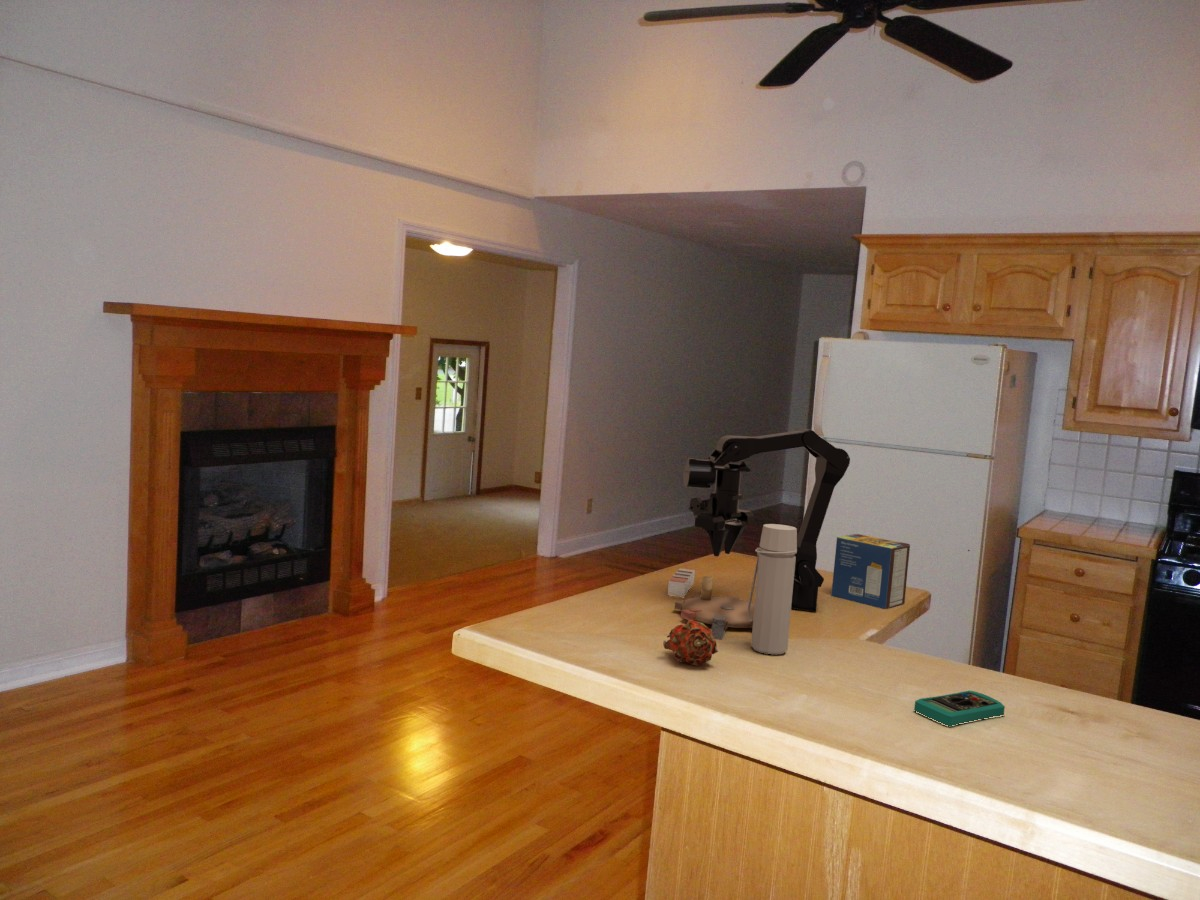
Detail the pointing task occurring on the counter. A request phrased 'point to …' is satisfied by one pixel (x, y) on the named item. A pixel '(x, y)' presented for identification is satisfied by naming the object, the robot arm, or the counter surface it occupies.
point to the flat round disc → (716, 607)
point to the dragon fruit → (692, 643)
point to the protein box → (870, 570)
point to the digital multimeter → (959, 707)
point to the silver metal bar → (681, 582)
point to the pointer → (718, 626)
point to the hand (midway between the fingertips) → (721, 555)
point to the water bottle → (773, 588)
